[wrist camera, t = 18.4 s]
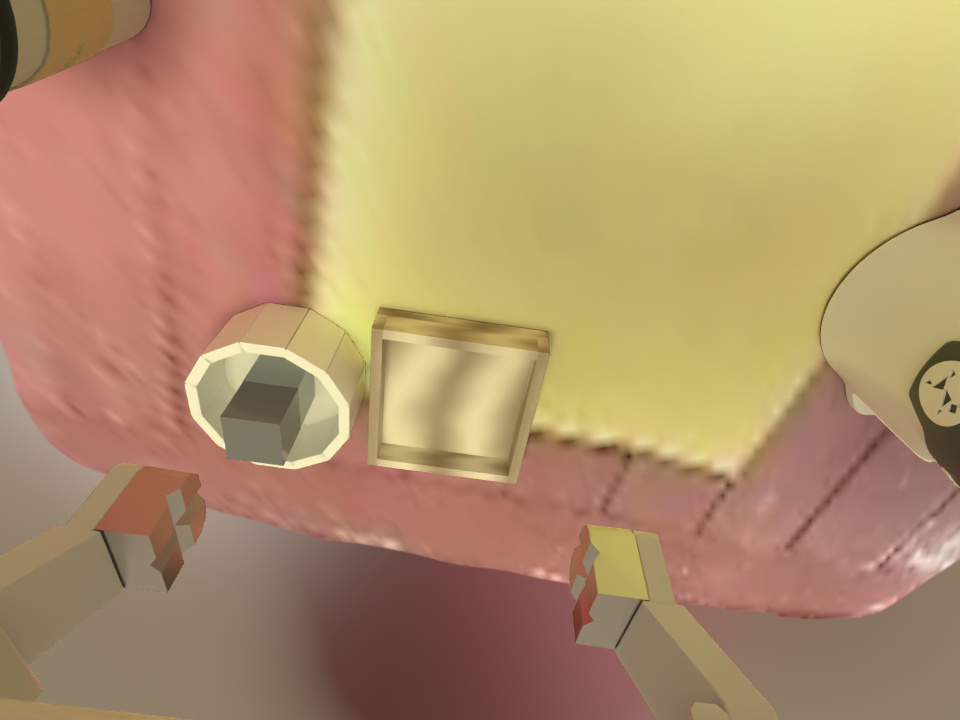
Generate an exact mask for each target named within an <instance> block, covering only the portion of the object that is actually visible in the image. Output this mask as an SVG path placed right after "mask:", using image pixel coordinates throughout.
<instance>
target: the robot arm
mask: <svg viewBox="0 0 960 720" xmlns="http://www.w3.org/2000/svg"><path fill="white" fill-rule="evenodd" d="M821 346H822V350H823V353H824V356H825V358H826V360H827V362H828V363H829V365H830V366H831V367H832V368H833V369H834V371H835V372H836V373H837V374H838V375H839V376H840V377H841V378H842V379H843V381H844V383H845V389H846V396H847V400H848V403H849V404H850V406H851V407H852V408H853V409H855V410H856V411H857V412H858V413H859V414H862V415H876V416H877V417H878V418H879V419H880V420H881V421H882V422H883V423H884V424H885V425H886V426H887V427H888V428H889V429H890V430H891V431H892V432H893V433H894V434H895V435H896V436H897V437H898V438H899V439H900V440H901V441H902V442H903V443H904V444H905V445H906V446H907V447H908V448H910V449H911V450H912V451H913V452H914V453H915V454H916V455H917V456H918V457H919V458H921V459H923V460H925V461H927V462H933V461H934V462H937V463H938V464H939V465H940V466H941V467H942V468H941V469H942V470H943V472H944V473H945V474H946V476H947V477H948V478H949V479H950V480H951V481H952V482H953V483H954V484H955V485H956V486H958V487H959V488H960V210H958V211H956V212H954V213H951V214H949V215H947V216H944V217H941V218H938V219H936V220H933V221H930V222H927V223H924V224H922V225H919V226H917V227H915V228H912V229H910V230H908V231H906V232H904V233H902V234H900V235H898V236H896V237H895V238H893V239H891V240H890V241H888V242H886V243H885V244H883V245H882V246H880V247H879V248H878V249H876V250H875V251H874V252H872V253H871V254H870V255H868V256H867V257H866V258H865V259H864V260H863V261H861V262H860V263H859V264H858V265H857V266H856V267H855V268H854V269H853V270H852V271H851V272H850V273H849V275H848V276H847V277H846V278H845V279H844V281H843V282H842V283H841V284H840V286H839V287H838V289H837V290H836V292H835V293H834V295H833V296H832V298H831V300H830V302H829V304H828V306H827V309H826V311H825V314H824V317H823V321H822V326H821ZM200 486H201V483H200V480H199V476H198V474H193V473H187V472H181V471H174V470H168V469H162V468H156V467H149V466H142V465H135V464H128V463H119V464H118V465H116V466H114V467H113V468H112V469H111V470H110V471H109V472H108V474H107V475H106V476H105V477H104V479H103V480H102V481H101V482H100V483H99V485H98V486H97V487H96V488H95V489H94V491H93V492H92V493H91V494H90V496H89V497H88V498H87V499H86V500H85V502H84V503H83V504H82V505H81V507H80V508H79V509H78V510H77V512H76V513H75V514H74V515H73V516H72V518H71V519H70V520H69V521H68V523H67V524H66V525H65V526H64V527H63V526H55V527H53V528H51V529H49V530H47V531H46V532H44V533H42V534H40V535H38V536H36V537H35V538H33V539H31V540H29V541H27V542H25V543H23V544H21V545H19V546H17V547H15V548H14V549H12V550H10V551H8V552H6V553H4V554H2V555H1V556H0V720H188V719H179V718H171V717H163V716H154V715H145V714H137V713H128V712H119V711H110V710H101V709H94V708H85V707H75V706H68V705H59V704H50V703H42V702H36V700H37V699H38V697H39V695H40V694H41V692H42V690H41V685H40V683H39V681H38V680H37V678H36V677H35V676H34V674H33V673H32V671H31V670H30V668H29V667H28V665H29V664H31V663H32V662H33V661H34V660H36V659H37V658H38V657H40V656H41V655H42V654H43V653H45V652H46V651H47V650H49V649H50V648H51V647H53V646H54V645H55V644H56V643H58V642H59V641H60V640H62V639H63V638H64V637H65V636H67V635H68V634H69V633H70V632H72V631H73V630H74V629H76V628H77V627H78V626H80V625H81V624H82V623H83V622H85V621H86V620H87V619H89V618H90V617H91V616H93V615H94V614H95V613H96V612H98V611H99V610H100V609H102V608H103V607H104V606H105V605H107V604H108V603H109V602H110V601H112V600H113V599H114V598H116V597H117V596H118V595H120V594H121V593H122V592H123V591H124V589H123V588H125V589H135V590H146V591H156V592H167V593H168V591H169V589H170V588H171V586H172V584H173V582H174V581H175V579H176V577H177V575H178V574H179V572H180V570H181V568H182V566H183V565H184V560H183V556H182V552H184V551H185V550H187V549H189V548H190V547H192V546H193V545H195V543H196V541H197V539H198V538H199V536H200V534H201V532H202V529H203V525H204V522H205V518H206V505H205V500H204V499H203V498H202V497H201V496H200V495H199V494H198V493H197V491H198V490H199V488H200ZM580 543H581V545H579V546H578V547H576V548H575V549H574V552H573V555H572V558H571V564H570V572H569V582H570V593H571V594H572V595H573V597H574V598H575V599H576V601H577V602H576V604H575V607H574V609H573V612H572V616H573V627H574V637H575V643H576V644H583V645H590V646H596V647H602V648H609V649H616V650H615V653H616V654H617V656H618V658H619V659H620V661H621V662H622V664H623V666H624V667H625V669H626V670H627V672H628V674H629V675H630V677H631V679H632V680H633V682H634V683H635V685H636V686H637V688H638V690H639V691H640V693H641V695H642V696H643V698H644V699H645V701H646V703H647V704H648V706H649V708H650V709H651V711H652V713H653V714H654V716H655V717H656V719H657V720H778V719H777V716H776V713H775V710H774V709H773V708H772V707H771V706H770V704H769V703H768V702H767V701H766V700H765V699H764V698H763V696H762V695H761V694H760V693H759V692H758V691H757V690H756V689H755V687H754V686H753V685H752V684H751V683H750V682H749V680H748V679H747V678H746V677H745V676H744V675H743V674H742V672H741V671H740V670H739V669H738V668H737V667H736V666H735V664H734V663H733V662H732V661H731V660H730V659H729V658H728V656H726V654H725V653H724V652H723V651H722V650H721V649H720V647H718V645H717V644H716V643H715V642H714V641H713V639H712V638H711V637H710V636H709V635H708V634H707V633H706V631H705V630H704V629H703V628H702V627H701V626H700V625H699V623H698V622H697V621H696V620H695V619H694V618H693V617H692V616H691V614H690V613H689V612H688V611H687V610H686V608H685V607H684V606H681V605H676V602H675V598H674V594H673V590H672V587H671V583H670V579H669V575H668V571H667V568H666V564H665V560H664V556H663V552H662V549H661V545H660V541H659V538H658V537H657V535H656V534H654V533H647V532H639V531H631V530H628V529H619V528H611V527H602V526H594V525H585V526H584V527H583V528H582V531H581V533H580Z"/></svg>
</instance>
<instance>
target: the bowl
mask: <svg viewBox="0 0 960 720" xmlns="http://www.w3.org/2000/svg"><path fill="white" fill-rule="evenodd" d="M260 354H262V355H270V356H277V357H284V358H285V359H287V360H289V361H290V362H292V363H294V364H296V365H297V366H299V367H301V368H302V369H304V370H306V371H308V372H309V373H311V374H313V375H314V382H315V397H314V400H313V402H312V404H311V406H310V408H309V410H308V413H307V415H306V417H305V419H304V421H303V423H302V426H301V429H300V431H299V433H298V436H297V438H296V440H295V442H294V444H293V447H292V449H291V451H290V453H289V455H288V457H287V460H286V462H285V464H284V466H280V465H273V464H265V463H258V462H252V463H254V464H255V463H256V464H257V465H265V466H273V467H280V468H288V469H298V468H302V467H306V466H309V465H313V464H316V463H320V462H324V461H327V460H329V459H330V458H331V457H332V456H333V455H334V454H335V453H336V452H337V450H338V449H339V448H340V447H341V446H342V445H343V444H344V443H345V441H346V440H347V439H348V438H349V436H350V433H351V430H352V427H353V424H354V422H355V419H356V416H357V413H358V410H359V407H360V404H361V401H362V399H363V396H364V393H365V361H364V360H363V358H362V356H361V355H360V353H359V352H358V350H357V348H356V347H355V345H354V344H353V342H352V340H351V339H350V337H349V336H348V334H347V333H346V332H345V331H344V330H343V329H341V328H340V327H338V326H336V325H335V324H333V323H332V322H330V321H328V320H327V319H325V318H324V317H322V316H320V315H319V314H317V313H316V312H314V311H312V310H311V309H310V310H309V309H308V308H301V307H294V306H287V305H281V304H274V303H268V304H267V303H265V304H262V305H260V306H257V307H254V308H252V309H249V310H246V311H244V312H241V313H238V314H236V315H234V316H232V318H231V319H230V320H229V321H228V323H227V324H226V325H225V326H224V328H223V329H222V330H221V331H220V333H219V334H218V335H217V336H216V338H215V339H214V340H213V341H212V342H211V344H210V345H209V346H208V347H207V349H206V350H205V351H204V352H203V354H202V355H201V356H200V358H199V360H198V361H197V363H196V365H195V366H194V368H193V370H192V371H191V373H190V375H189V376H188V378H187V380H186V382H185V388H186V392H187V397H188V402H189V406H190V411H191V416H192V417H193V418H194V419H195V421H196V422H197V423H198V424H199V425H200V426H201V427H202V428H203V429H204V431H205V432H206V433H207V434H208V435H209V436H210V437H211V438H212V439H213V441H214V442H215V443H216V444H217V445H219V446H220V447H222V448H224V449H226V448H225V442H224V436H223V430H222V424H221V418H220V416H221V415H222V413H223V412H224V410H225V409H226V407H227V405H228V404H229V402H230V401H231V399H232V398H233V396H234V395H235V393H236V392H237V390H238V389H239V387H240V386H241V384H242V383H243V380H244V378H245V377H246V375H247V374H248V372H249V371H250V369H251V368H252V366H253V365H254V363H255V362H256V360H257V358H258V357H259V355H260Z"/></svg>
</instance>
